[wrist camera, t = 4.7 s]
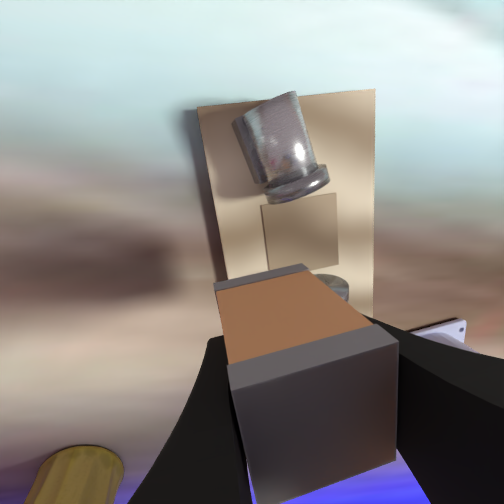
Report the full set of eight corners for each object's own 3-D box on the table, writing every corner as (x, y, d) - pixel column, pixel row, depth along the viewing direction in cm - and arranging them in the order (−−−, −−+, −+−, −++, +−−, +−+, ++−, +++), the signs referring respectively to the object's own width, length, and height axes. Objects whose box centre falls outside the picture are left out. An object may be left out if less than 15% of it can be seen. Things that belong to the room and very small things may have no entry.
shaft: (304, 177, 17) (343, 178, 13) (257, 199, 17) (279, 208, 13) (281, 103, 16) (315, 75, 11) (227, 127, 16) (241, 107, 11)
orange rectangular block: (309, 338, 13) (396, 460, 7) (230, 359, 12) (258, 511, 7) (301, 263, 12) (399, 341, 6) (213, 283, 11) (231, 391, 6)
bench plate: (366, 318, 22) (373, 323, 21) (240, 350, 20) (242, 358, 19) (367, 92, 17) (376, 88, 16) (196, 110, 15) (197, 106, 14)
